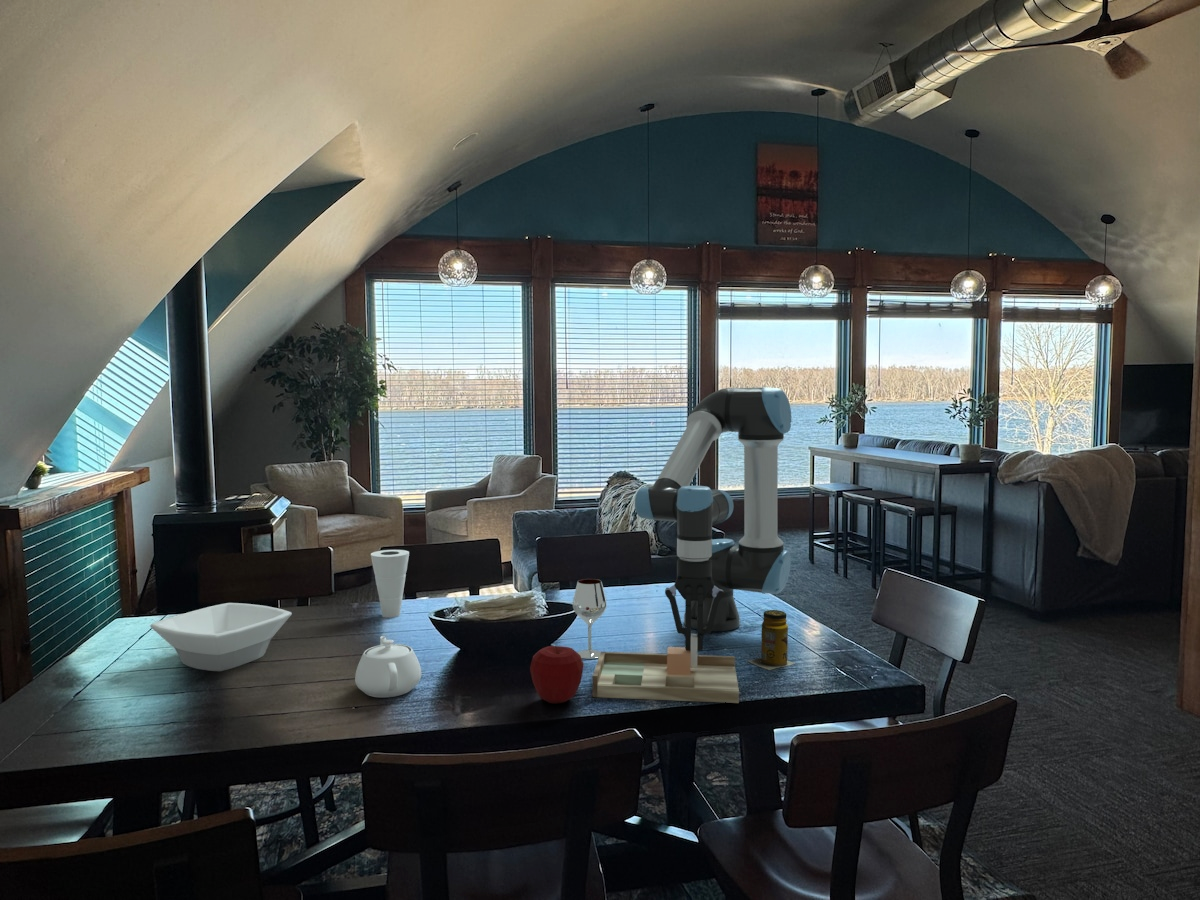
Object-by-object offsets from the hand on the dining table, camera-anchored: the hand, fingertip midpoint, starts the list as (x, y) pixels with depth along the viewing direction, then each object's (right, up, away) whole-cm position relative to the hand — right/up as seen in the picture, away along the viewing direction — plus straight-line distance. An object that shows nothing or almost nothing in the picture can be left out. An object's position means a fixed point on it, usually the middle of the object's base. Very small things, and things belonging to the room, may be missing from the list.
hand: (693, 664), depth 174 cm
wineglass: (-23, -3, +19) cm, 30 cm away
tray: (-6, -4, -2) cm, 8 cm away
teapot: (-66, -5, -3) cm, 66 cm away
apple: (-29, -5, -10) cm, 31 cm away
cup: (-80, -1, +55) cm, 97 cm away
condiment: (+20, -3, +13) cm, 24 cm away
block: (-3, -1, 0) cm, 4 cm away
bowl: (-110, -3, +16) cm, 111 cm away
